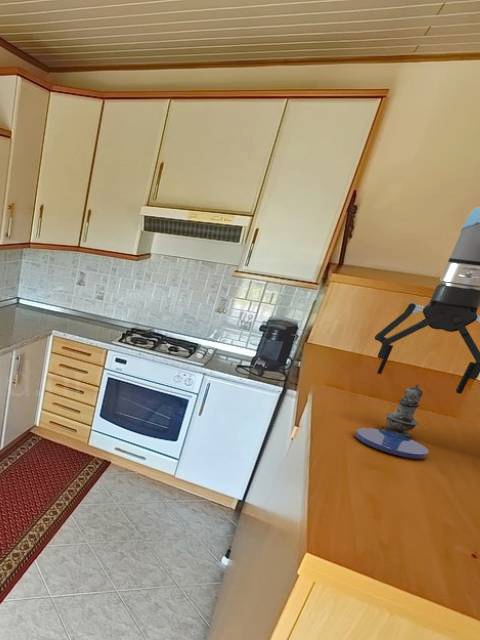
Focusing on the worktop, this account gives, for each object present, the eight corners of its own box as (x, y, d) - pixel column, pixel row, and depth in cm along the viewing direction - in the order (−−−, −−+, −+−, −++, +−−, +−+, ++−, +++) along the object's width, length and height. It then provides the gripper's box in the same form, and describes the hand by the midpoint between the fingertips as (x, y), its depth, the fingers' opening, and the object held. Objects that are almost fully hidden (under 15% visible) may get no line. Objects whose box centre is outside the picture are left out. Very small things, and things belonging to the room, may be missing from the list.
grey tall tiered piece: (393, 427, 115) (414, 380, 111) (418, 438, 110) (442, 389, 106) (373, 426, 114) (394, 379, 110) (397, 438, 109) (420, 388, 105)
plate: (441, 462, 98) (444, 456, 98) (386, 458, 97) (389, 452, 97) (390, 436, 110) (393, 430, 109) (340, 432, 109) (343, 426, 108)
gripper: (385, 276, 105) (347, 368, 113) (553, 300, 90) (497, 404, 98) (387, 275, 111) (351, 363, 118) (546, 297, 96) (493, 397, 103)
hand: (417, 382), depth 108 cm, fingers open, 13 cm apart
